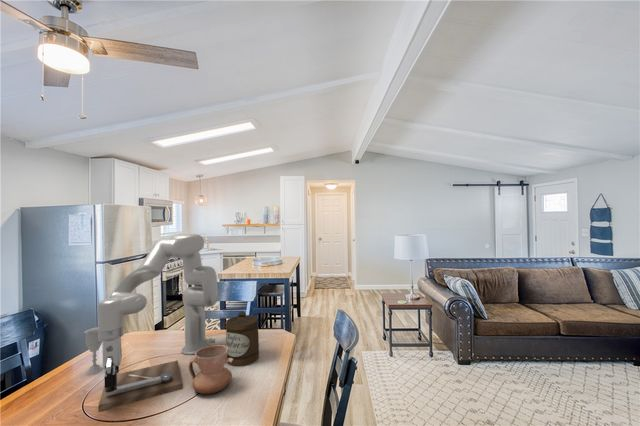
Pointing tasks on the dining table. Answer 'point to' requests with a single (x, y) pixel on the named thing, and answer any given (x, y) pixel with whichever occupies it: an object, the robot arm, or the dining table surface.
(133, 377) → the lever board
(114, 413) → the dining table surface
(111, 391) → the lever
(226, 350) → the ceramic jug
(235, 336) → the wooden container
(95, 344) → the chalice
